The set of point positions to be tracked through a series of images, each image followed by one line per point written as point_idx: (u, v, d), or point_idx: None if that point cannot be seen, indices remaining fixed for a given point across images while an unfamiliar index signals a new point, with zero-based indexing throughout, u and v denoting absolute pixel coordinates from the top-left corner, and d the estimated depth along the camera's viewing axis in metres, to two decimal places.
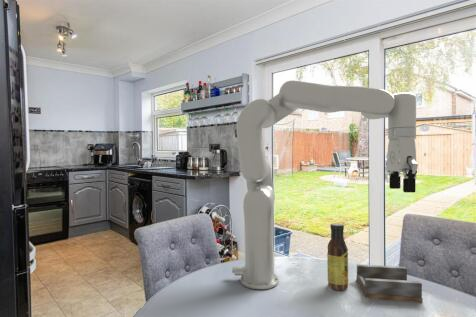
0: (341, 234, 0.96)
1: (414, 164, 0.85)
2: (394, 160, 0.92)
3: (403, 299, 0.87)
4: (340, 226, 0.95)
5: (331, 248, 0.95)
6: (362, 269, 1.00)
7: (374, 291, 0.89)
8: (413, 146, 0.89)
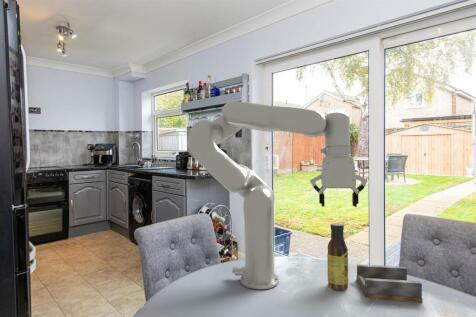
0: (341, 234, 0.96)
1: (366, 179, 0.95)
2: (344, 177, 0.94)
3: (403, 299, 0.87)
4: (340, 226, 0.95)
5: (332, 248, 0.95)
6: (362, 269, 1.00)
7: (374, 291, 0.89)
8: None
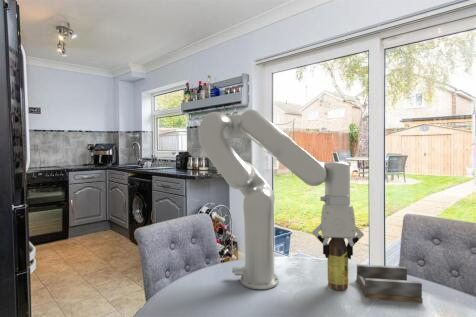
0: None
1: (363, 234, 0.95)
2: (344, 227, 0.94)
3: (403, 299, 0.87)
4: None
5: (332, 248, 0.95)
6: (362, 269, 1.00)
7: (374, 291, 0.89)
8: None
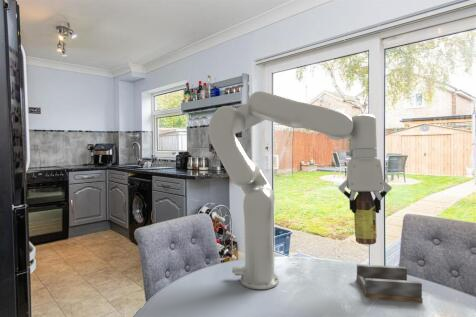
0: None
1: None
2: (371, 180, 0.92)
3: (403, 299, 0.87)
4: None
5: (359, 202, 0.94)
6: (362, 269, 1.00)
7: (374, 291, 0.89)
8: None
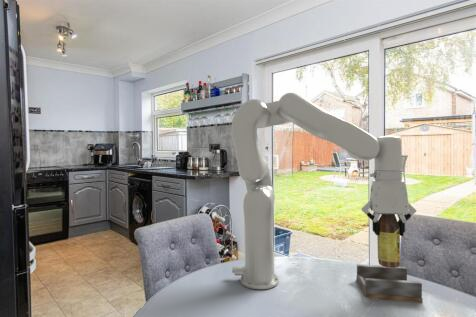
0: None
1: None
2: (396, 203, 0.91)
3: (403, 299, 0.87)
4: None
5: (383, 224, 0.93)
6: (362, 269, 1.00)
7: (374, 291, 0.89)
8: None
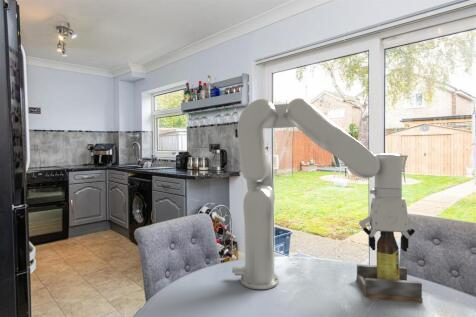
0: None
1: None
2: (396, 221, 0.91)
3: (403, 299, 0.87)
4: None
5: (382, 245, 0.93)
6: (362, 269, 1.00)
7: (374, 291, 0.89)
8: None
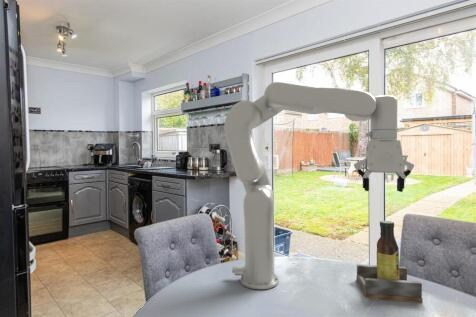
0: (392, 232, 0.93)
1: None
2: (391, 161, 0.92)
3: (403, 299, 0.87)
4: (391, 224, 0.93)
5: (382, 246, 0.93)
6: (362, 269, 1.00)
7: (374, 291, 0.89)
8: None
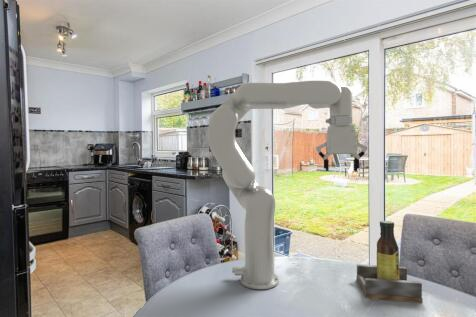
0: (392, 232, 0.93)
1: (366, 147, 1.06)
2: (347, 144, 1.05)
3: (403, 299, 0.87)
4: (391, 224, 0.93)
5: (382, 246, 0.93)
6: (362, 269, 1.00)
7: (374, 291, 0.89)
8: None
